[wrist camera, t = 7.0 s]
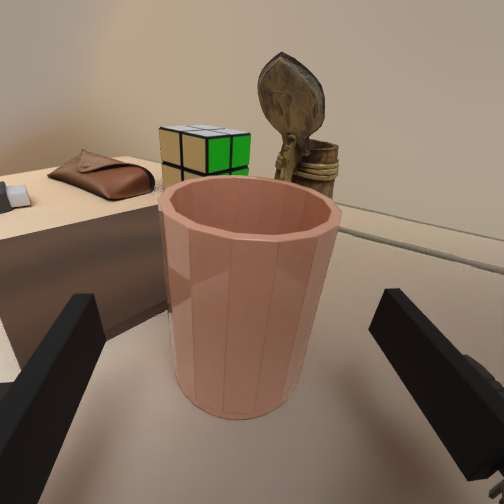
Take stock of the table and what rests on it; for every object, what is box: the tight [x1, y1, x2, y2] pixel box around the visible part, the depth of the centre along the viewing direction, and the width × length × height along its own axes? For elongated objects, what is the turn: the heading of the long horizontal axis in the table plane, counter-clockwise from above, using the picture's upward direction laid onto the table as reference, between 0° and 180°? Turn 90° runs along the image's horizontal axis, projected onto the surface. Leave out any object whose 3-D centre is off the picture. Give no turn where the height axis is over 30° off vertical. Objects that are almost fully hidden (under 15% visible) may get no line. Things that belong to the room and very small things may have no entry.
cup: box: [158, 175, 342, 420], centre depth 15 cm, size 8×8×11 cm
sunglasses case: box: [47, 149, 155, 199], centre depth 45 cm, size 18×7×7 cm, turn 60°
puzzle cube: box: [159, 125, 251, 191], centre depth 43 cm, size 10×10×10 cm
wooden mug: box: [258, 52, 339, 199], centre depth 29 cm, size 9×14×18 cm, turn 147°
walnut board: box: [0, 205, 168, 371], centre depth 27 cm, size 18×20×1 cm
